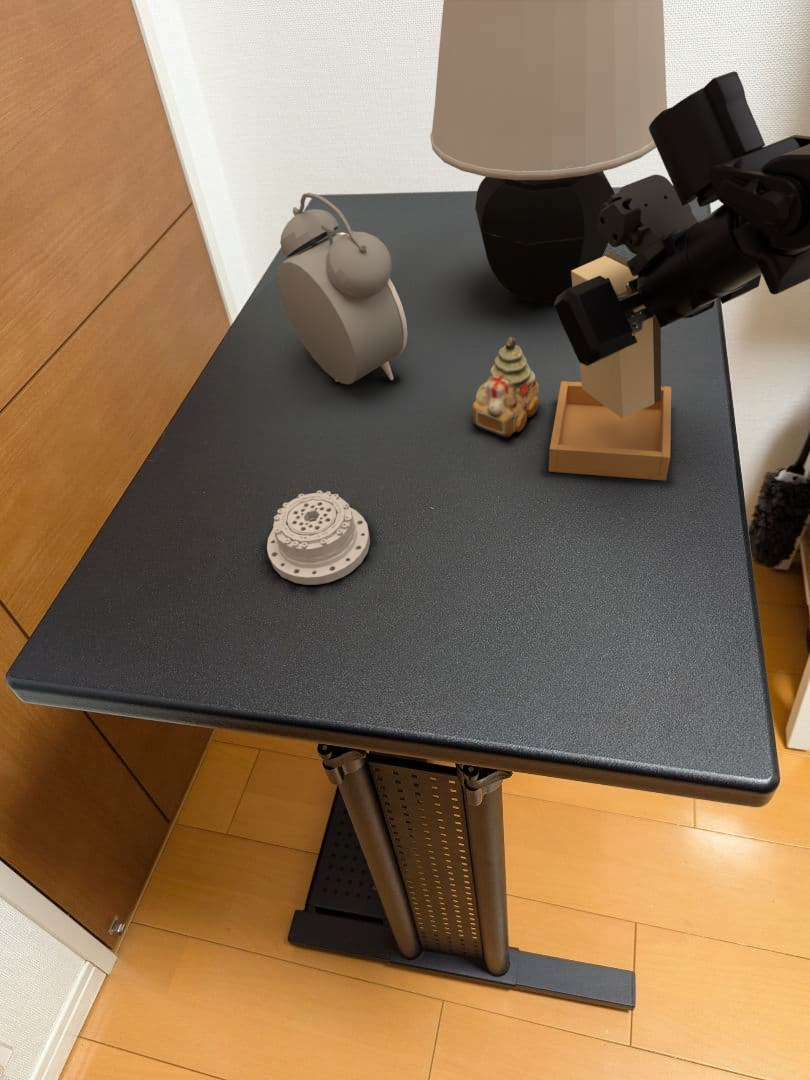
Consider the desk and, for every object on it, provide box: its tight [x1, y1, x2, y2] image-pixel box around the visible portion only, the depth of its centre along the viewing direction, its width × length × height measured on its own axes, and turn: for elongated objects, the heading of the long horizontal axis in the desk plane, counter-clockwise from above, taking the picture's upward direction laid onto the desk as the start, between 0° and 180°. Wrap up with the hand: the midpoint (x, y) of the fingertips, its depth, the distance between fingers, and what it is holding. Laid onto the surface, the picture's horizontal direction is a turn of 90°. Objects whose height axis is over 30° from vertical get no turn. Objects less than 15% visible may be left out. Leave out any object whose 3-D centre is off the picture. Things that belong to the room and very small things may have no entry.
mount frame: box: [548, 380, 672, 482], centre depth 81 cm, size 12×12×3 cm
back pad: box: [571, 252, 662, 419], centre depth 73 cm, size 4×7×13 cm, turn 25°
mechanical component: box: [266, 490, 371, 586], centre depth 74 cm, size 10×4×10 cm
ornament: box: [471, 336, 540, 438], centre depth 83 cm, size 8×6×10 cm
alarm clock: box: [277, 192, 409, 385], centre depth 88 cm, size 16×9×22 cm, turn 37°
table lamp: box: [429, 0, 668, 304], centre depth 89 cm, size 27×27×40 cm
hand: (608, 324), depth 73 cm, fingers closed on back pad, 5 cm apart
